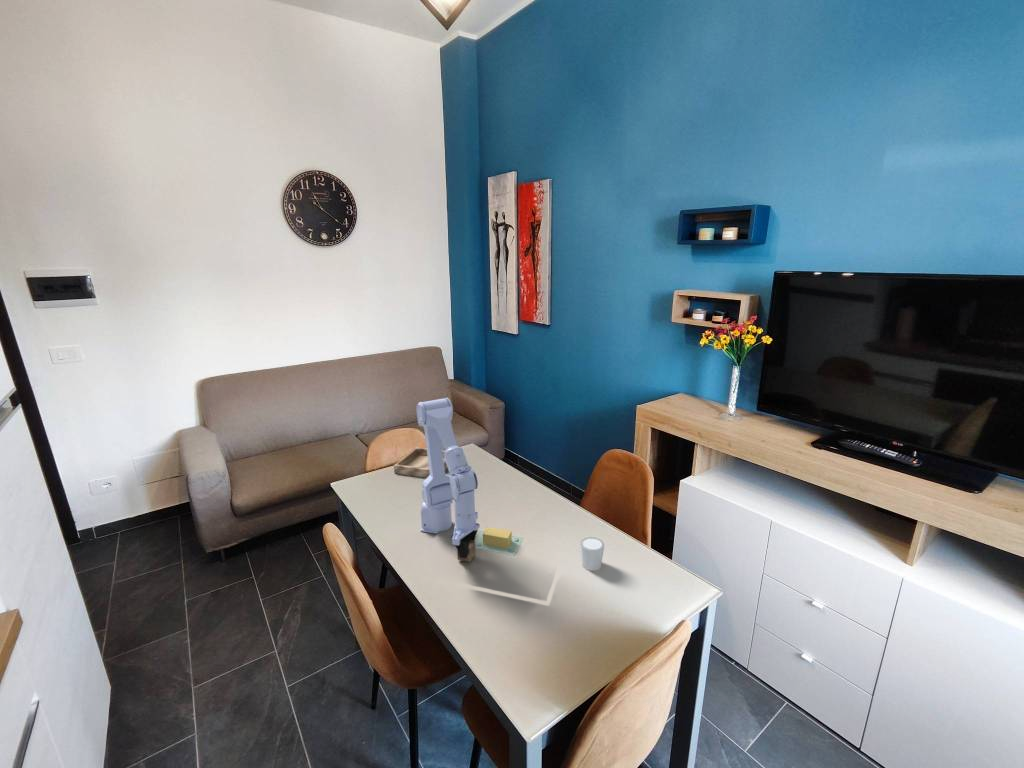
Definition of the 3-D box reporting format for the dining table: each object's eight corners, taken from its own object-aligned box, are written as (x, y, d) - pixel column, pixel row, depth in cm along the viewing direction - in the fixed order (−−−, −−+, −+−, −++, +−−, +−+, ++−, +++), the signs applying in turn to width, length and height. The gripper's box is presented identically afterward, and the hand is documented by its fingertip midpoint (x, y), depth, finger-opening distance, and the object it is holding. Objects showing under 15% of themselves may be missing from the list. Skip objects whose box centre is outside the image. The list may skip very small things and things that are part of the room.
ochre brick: (482, 544, 145) (482, 534, 144) (487, 536, 148) (487, 526, 147) (507, 548, 142) (507, 538, 141) (511, 541, 146) (511, 531, 145)
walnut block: (457, 559, 136) (457, 546, 135) (463, 551, 140) (462, 538, 139) (470, 562, 135) (470, 548, 134) (475, 553, 139) (475, 540, 138)
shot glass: (605, 559, 138) (606, 539, 136) (601, 574, 132) (602, 552, 130) (581, 555, 141) (582, 534, 139) (577, 569, 134) (577, 548, 132)
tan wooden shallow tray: (394, 473, 194) (393, 465, 193) (416, 454, 211) (416, 447, 210) (436, 479, 188) (436, 471, 187) (455, 459, 205) (455, 452, 204)
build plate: (470, 550, 143) (470, 546, 143) (481, 533, 152) (481, 530, 151) (514, 558, 139) (514, 554, 139) (523, 540, 148) (523, 537, 147)
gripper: (468, 527, 126) (469, 570, 130) (487, 500, 139) (487, 540, 143) (444, 522, 128) (446, 565, 132) (464, 496, 141) (466, 536, 145)
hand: (466, 552), depth 137 cm, fingers closed on walnut block, 4 cm apart
